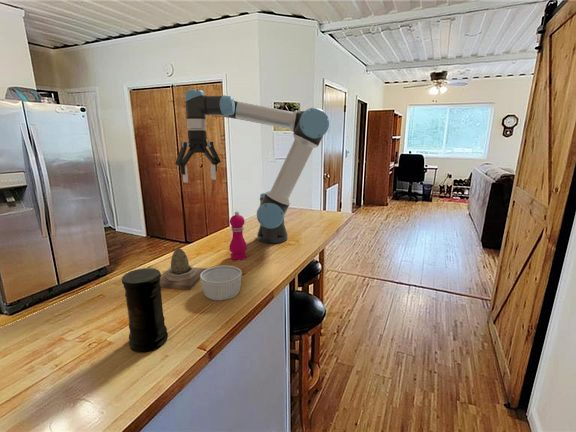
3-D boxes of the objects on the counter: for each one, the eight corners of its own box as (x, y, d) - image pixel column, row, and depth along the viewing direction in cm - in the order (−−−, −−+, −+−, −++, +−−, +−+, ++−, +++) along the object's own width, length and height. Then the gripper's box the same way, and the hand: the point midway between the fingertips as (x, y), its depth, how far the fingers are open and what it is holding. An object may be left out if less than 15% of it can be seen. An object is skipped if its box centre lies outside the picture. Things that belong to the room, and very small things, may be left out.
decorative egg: (172, 280, 108) (170, 252, 106) (170, 273, 113) (168, 247, 111) (190, 276, 111) (188, 250, 108) (187, 270, 116) (185, 244, 113)
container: (137, 331, 82) (128, 267, 78) (172, 329, 83) (166, 266, 79) (122, 354, 74) (112, 284, 69) (162, 352, 74) (154, 282, 70)
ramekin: (198, 287, 106) (197, 268, 104) (236, 280, 111) (236, 262, 110) (204, 306, 94) (203, 285, 93) (247, 298, 100) (246, 278, 98)
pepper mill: (243, 261, 128) (242, 214, 123) (227, 260, 129) (224, 213, 124) (249, 255, 135) (248, 209, 130) (233, 253, 136) (231, 209, 131)
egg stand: (207, 272, 118) (206, 263, 117) (190, 289, 104) (189, 280, 104) (172, 269, 120) (171, 261, 119) (151, 286, 107) (150, 277, 106)
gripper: (217, 130, 142) (219, 177, 147) (163, 129, 125) (168, 182, 130) (227, 130, 137) (229, 178, 142) (172, 129, 119) (177, 184, 125)
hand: (200, 180), depth 136 cm, fingers open, 13 cm apart
